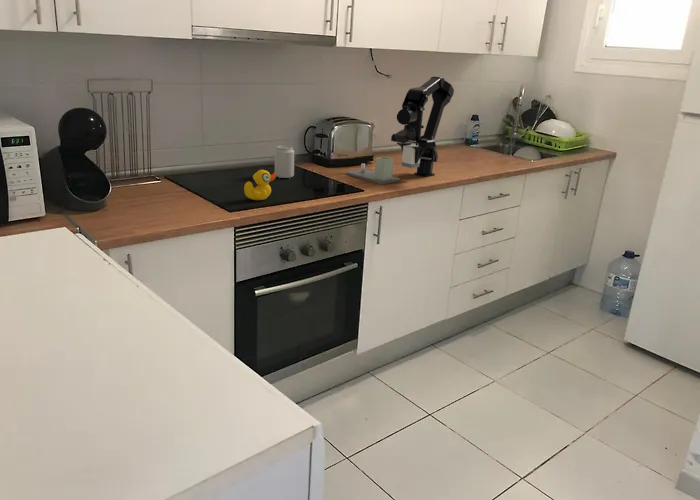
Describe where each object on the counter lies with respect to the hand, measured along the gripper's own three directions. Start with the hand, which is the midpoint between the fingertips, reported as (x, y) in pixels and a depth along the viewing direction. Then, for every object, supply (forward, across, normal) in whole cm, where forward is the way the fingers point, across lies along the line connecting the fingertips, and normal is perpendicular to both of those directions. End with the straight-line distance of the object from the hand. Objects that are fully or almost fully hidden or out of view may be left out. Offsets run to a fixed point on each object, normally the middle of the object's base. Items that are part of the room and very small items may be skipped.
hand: (410, 162), depth 232 cm
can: (+8, -29, -41) cm, 51 cm away
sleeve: (+2, 0, 0) cm, 2 cm away
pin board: (+7, -11, -10) cm, 17 cm away
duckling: (+8, -6, -68) cm, 69 cm away
